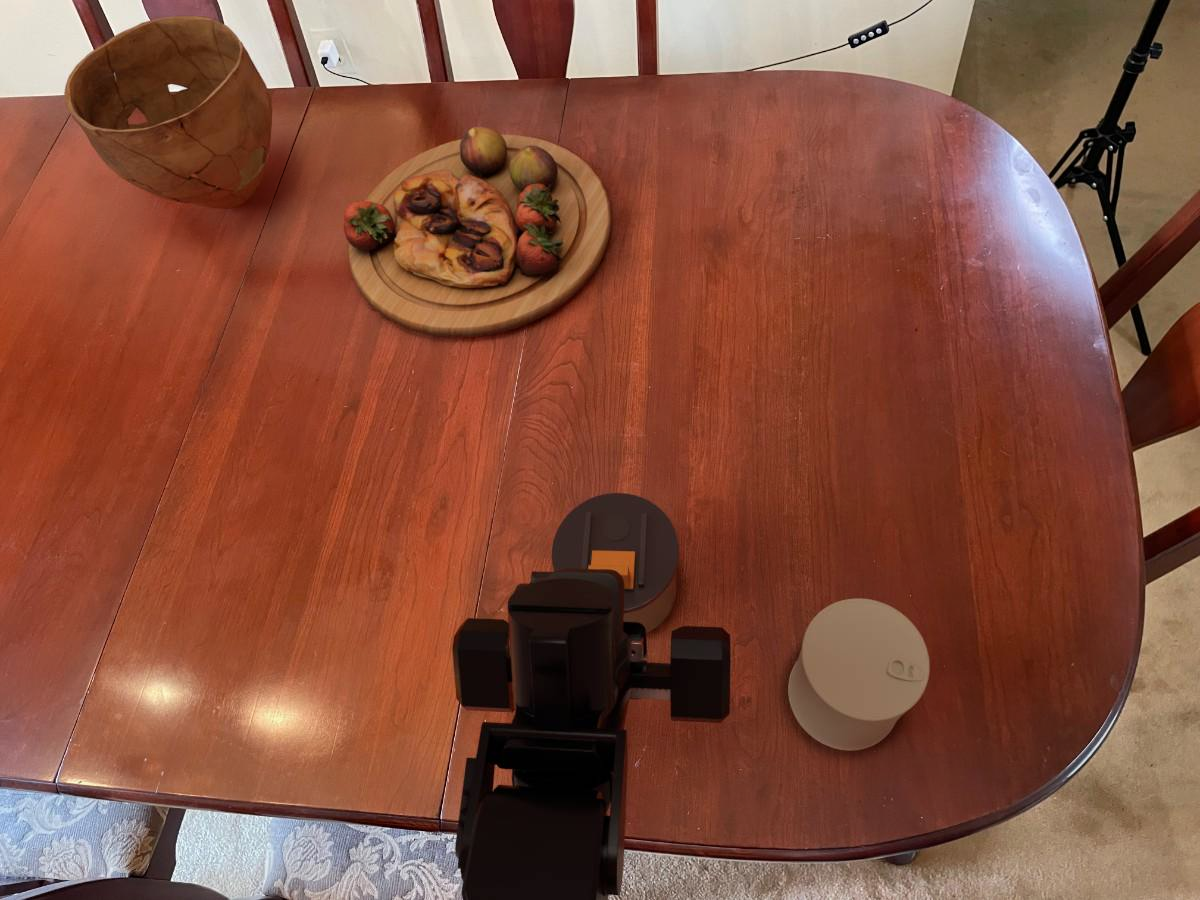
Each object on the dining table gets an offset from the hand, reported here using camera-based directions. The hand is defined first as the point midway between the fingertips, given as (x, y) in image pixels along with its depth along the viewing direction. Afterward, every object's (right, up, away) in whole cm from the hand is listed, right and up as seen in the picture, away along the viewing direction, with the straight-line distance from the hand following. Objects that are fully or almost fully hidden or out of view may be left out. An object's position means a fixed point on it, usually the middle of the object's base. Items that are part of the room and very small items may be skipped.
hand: (606, 614), depth 66 cm
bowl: (-48, +45, +45) cm, 80 cm away
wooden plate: (-15, +39, +37) cm, 56 cm away
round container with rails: (+2, 0, +13) cm, 13 cm away
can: (+20, -8, +7) cm, 23 cm away
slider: (+1, +3, +4) cm, 5 cm away
